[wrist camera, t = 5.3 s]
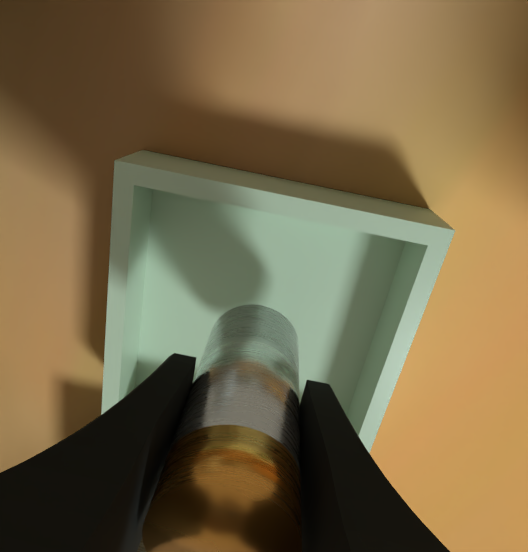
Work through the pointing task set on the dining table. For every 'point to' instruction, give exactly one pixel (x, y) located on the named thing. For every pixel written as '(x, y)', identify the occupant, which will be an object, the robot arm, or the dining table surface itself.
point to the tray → (266, 274)
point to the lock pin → (235, 445)
